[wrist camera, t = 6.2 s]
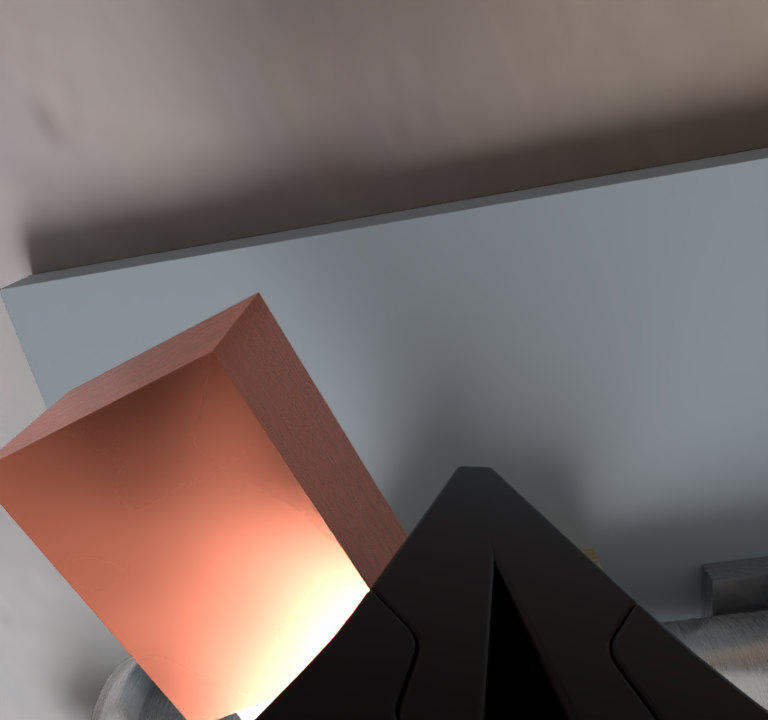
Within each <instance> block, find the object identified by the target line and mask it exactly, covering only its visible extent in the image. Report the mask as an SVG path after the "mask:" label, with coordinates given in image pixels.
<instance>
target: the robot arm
mask: <svg viewBox="0 0 768 720" xmlns="http://www.w3.org/2000/svg"><path fill="white" fill-rule="evenodd" d="M255 720H768V711H767V710H766V709H765V708H764V707H762V706H761V705H760V704H758V703H757V702H756V701H754V700H753V699H752V698H751V697H749V696H748V695H747V694H745V693H744V692H743V691H742V690H740V689H739V688H738V687H737V686H735V685H734V684H733V683H732V682H730V681H729V680H728V679H727V678H725V677H724V676H723V675H722V674H720V673H719V672H718V671H717V670H715V669H714V668H713V667H712V666H710V665H709V664H708V663H707V662H705V661H704V660H703V659H702V658H700V657H699V656H698V655H697V654H696V653H694V652H693V651H692V650H691V649H690V648H689V647H688V646H686V645H685V644H684V643H683V642H682V641H681V640H680V639H678V638H677V637H676V636H675V635H674V634H673V633H672V632H670V631H669V630H668V629H667V628H666V627H665V626H664V625H662V624H661V623H660V622H659V621H658V620H657V619H656V618H655V617H654V616H653V615H652V614H650V613H649V612H648V611H647V610H646V609H645V608H644V607H643V606H642V605H640V604H637V602H636V600H635V599H634V598H633V597H632V596H631V595H629V594H628V593H627V592H626V591H625V590H624V589H623V588H622V587H621V586H620V585H619V584H618V583H616V582H615V581H614V580H613V579H612V578H611V577H610V576H609V575H608V574H607V573H606V572H605V571H603V570H602V569H601V568H600V567H599V566H598V565H597V564H596V563H595V562H594V561H593V560H592V559H590V558H589V557H588V556H587V555H586V554H585V553H584V552H583V551H582V550H581V549H580V548H579V547H577V546H576V545H575V544H574V543H573V542H572V541H571V540H570V539H569V538H568V537H567V536H565V535H564V534H563V533H562V532H561V531H560V530H559V529H558V528H557V527H556V526H555V525H554V524H552V523H551V522H550V521H549V520H548V519H547V518H546V517H545V516H544V515H543V514H542V513H541V512H539V511H538V510H537V509H536V508H535V507H534V506H533V505H532V504H531V503H530V502H529V501H528V500H526V499H525V498H524V497H523V496H522V495H521V494H520V493H519V492H518V491H517V490H516V489H515V488H513V487H512V486H511V485H510V484H509V483H508V482H507V481H506V480H505V479H504V478H503V477H502V476H500V475H499V474H498V473H497V472H496V471H495V470H494V469H492V468H491V467H478V466H459V467H457V469H456V470H455V471H454V473H453V474H452V475H451V477H450V478H449V480H448V481H447V482H446V484H445V485H444V487H443V488H442V489H441V491H440V492H439V493H438V495H437V496H436V498H435V499H434V500H433V502H432V503H431V505H430V506H429V507H428V509H427V510H426V512H425V513H424V514H423V516H422V517H421V519H420V520H419V521H418V523H417V524H416V525H415V527H414V528H413V530H412V531H411V532H410V534H409V535H408V537H407V538H406V539H405V541H404V542H403V544H402V545H401V546H400V548H399V549H398V550H397V552H396V553H395V555H394V556H393V557H392V559H391V560H390V562H389V563H388V564H387V566H386V567H385V569H384V570H383V571H382V573H381V574H380V576H379V577H378V578H377V580H376V581H375V582H374V584H373V585H372V587H371V588H370V591H369V592H367V593H366V594H365V596H364V597H363V599H362V600H361V601H360V603H359V604H358V606H357V607H356V608H355V610H354V611H353V613H352V614H351V615H350V616H349V618H348V619H347V620H346V621H345V623H344V624H343V625H342V627H341V628H340V629H339V630H338V632H337V633H336V634H335V635H334V637H333V638H332V639H331V640H330V641H329V642H328V643H327V644H326V646H325V647H324V648H323V649H322V650H321V651H320V652H319V653H318V654H317V655H316V656H315V658H314V659H313V660H312V661H311V662H310V663H309V664H308V665H307V666H306V667H305V668H304V669H303V670H302V671H301V672H300V674H299V675H298V676H297V677H296V678H295V679H294V680H293V681H292V682H291V683H290V684H289V685H288V686H287V687H286V688H285V689H284V690H283V691H282V692H281V693H280V694H279V695H278V696H277V697H276V698H275V699H274V700H273V701H272V702H271V703H270V704H269V705H268V706H267V707H266V708H265V709H264V710H263V711H262V712H261V713H260V715H259V716H258V717H257V718H256V719H255Z"/></svg>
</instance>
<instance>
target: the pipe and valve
mask: <svg viewBox="0 0 768 720" xmlns="http://www.w3.org/2000/svg"><path fill="white" fill-rule="evenodd" d="M581 550H582V551H583V552H584V553H585V554H586V555H587V556H588V557H589V558H590V559H592V560H593V561H594V562H595V563H596V564H597V565H598V566H599V567H600V568H601V565H600V563H599V561H598V558H597V556H596V554H595V551H594V549H593V548H590V549H581ZM601 569H602V568H601ZM660 623H661V624H662V625H664V626H665V627H666V628H667V629H668V630H669V631H670V632H672V633H673V634H674V635H675V636H676V637H677V638H678V639H680V640H681V641H682V642H683V643H684V644H685V645H686V646H688V647H689V648H690V649H691V650H692V651H693V652H694V653H696V654H697V655H698V656H699V657H700V658H702V659H703V660H704V661H705V662H707V663H708V664H709V665H710V666H712V667H713V668H714V669H715V670H717V671H718V672H719V673H720V674H722V675H723V676H724V677H725V678H727V679H728V680H729V681H730V682H732V683H733V684H734V685H735V686H737V687H738V688H739V689H740V690H742V691H743V692H744V693H745V694H747V695H748V696H749V697H751V698H752V699H753V700H754V701H756V702H757V703H758V704H760V705H761V706H762V707H764V708H765V709H766V710H767V711H768V556H766V557H757V558H748V559H739V560H731V561H722V562H713V563H705V564H702V617H701V618H692V619H683V620H673V621H664V622H660ZM91 720H186V718H185V717H184V716H183V715H182V714H181V713H180V712H179V710H178V709H177V708H176V707H175V706H174V705H173V703H172V702H171V701H170V700H169V699H168V698H167V696H166V695H165V694H164V693H163V692H162V691H161V690H160V688H159V687H158V686H157V685H156V684H155V683H154V681H153V680H152V679H151V678H150V677H149V676H148V674H147V673H146V672H145V671H144V670H143V669H142V668H141V666H140V665H139V664H138V663H137V662H136V661H135V659H134V658H133V657H130V658H128V659H126V660H124V661H123V662H122V663H121V664H119V665H118V666H117V668H116V669H115V670H114V671H113V672H112V674H111V675H110V676H109V678H108V680H107V681H106V683H105V685H104V687H103V689H102V691H101V693H100V695H99V697H98V700H97V703H96V705H95V708H94V711H93V714H92V717H91ZM217 720H241V718H240V717H239V716H238V715H237V713H233V714H231V715H228V716H225V717H223V718H220V719H217Z"/></svg>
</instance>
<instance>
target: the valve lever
mask: <svg viewBox="0 0 768 720" xmlns="http://www.w3.org/2000/svg"><path fill="white" fill-rule="evenodd" d="M0 504H1V505H2V506H3V508H4V509H5V510H6V511H7V512H8V513H9V515H10V516H11V517H12V518H13V519H14V520H15V521H16V523H17V524H18V525H19V526H20V527H21V528H22V530H23V531H24V532H25V533H26V534H27V535H28V537H29V538H30V539H31V540H32V541H33V542H34V543H35V545H36V546H37V547H38V548H39V549H40V550H41V552H42V553H43V554H44V555H45V556H46V557H47V559H48V560H49V561H50V562H51V563H52V564H53V566H54V567H55V568H56V569H57V570H58V571H59V572H60V574H61V575H62V576H63V577H64V578H65V579H66V581H67V582H68V583H69V584H70V585H71V586H72V588H73V589H74V590H75V591H76V592H77V593H78V594H79V596H80V597H81V598H82V599H83V600H84V601H85V603H86V604H87V605H88V606H89V607H90V608H91V610H92V611H93V612H94V613H95V614H96V615H97V617H98V618H99V619H100V620H101V621H102V622H103V623H104V625H105V626H106V627H107V628H108V629H109V630H110V632H111V633H112V634H113V635H114V636H115V637H116V639H117V640H118V641H119V642H120V643H121V644H122V645H123V647H124V648H125V649H126V650H127V651H128V652H129V654H130V655H131V656H132V657H133V658H134V659H135V661H136V662H137V663H138V664H139V665H140V666H141V668H142V669H143V670H144V671H145V672H146V673H147V674H148V676H149V677H150V678H151V679H152V680H153V681H154V683H155V684H156V685H157V686H158V687H159V688H160V690H161V691H162V692H163V693H164V694H165V695H166V696H167V698H168V699H169V700H170V701H171V702H172V703H173V705H174V706H175V707H176V708H177V709H178V710H179V712H180V713H181V714H182V715H183V716H184V717H185V718H186V720H217V719H220V718H223V717H225V716H228V715H231V714H233V713H237V715H238V716H239V717H240V718H241V720H255V719H256V718H257V717H258V716H259V715H260V713H261V712H262V711H263V710H264V709H265V708H266V707H267V706H268V705H269V704H270V703H271V702H272V701H273V700H274V699H275V698H276V697H277V696H278V695H279V694H280V693H281V692H282V691H283V690H284V689H285V688H286V687H287V686H288V685H289V684H290V683H291V682H292V681H293V680H294V679H295V678H296V677H297V676H298V675H299V674H300V672H301V671H302V670H303V669H304V668H305V667H306V666H307V665H308V664H309V663H310V662H311V661H312V660H313V659H314V658H315V656H316V655H317V654H318V653H319V652H320V651H321V650H322V649H323V648H324V647H325V646H326V644H327V643H328V642H329V641H330V640H331V639H332V638H333V637H334V635H335V634H336V633H337V632H338V630H339V629H340V628H341V627H342V625H343V624H344V623H345V621H346V620H347V619H348V618H349V616H350V615H351V614H352V613H353V611H354V610H355V608H356V607H357V606H358V604H359V603H360V601H361V600H362V599H363V597H364V596H365V594H366V593H367V592H369V591H370V588H371V587H372V585H373V584H374V582H375V581H376V580H377V578H378V577H379V576H380V574H381V573H382V571H383V570H384V569H385V567H386V566H387V564H388V563H389V562H390V560H391V559H392V557H393V556H394V555H395V553H396V552H397V550H398V549H399V548H400V546H401V545H402V544H403V542H404V541H405V539H406V538H407V537H408V536H407V534H406V532H405V531H404V529H403V527H402V526H401V524H400V522H399V521H398V519H397V518H396V516H395V514H394V513H393V511H392V509H391V508H390V506H389V504H388V503H387V501H386V500H385V498H384V496H383V495H382V493H381V491H380V490H379V488H378V486H377V485H376V483H375V482H374V480H373V478H372V477H371V475H370V473H369V472H368V470H367V468H366V467H365V465H364V464H363V462H362V460H361V459H360V457H359V455H358V454H357V452H356V450H355V449H354V447H353V446H352V444H351V442H350V441H349V439H348V437H347V436H346V434H345V432H344V431H343V429H342V427H341V426H340V424H339V423H338V421H337V419H336V418H335V416H334V414H333V413H332V411H331V409H330V408H329V406H328V405H327V403H326V401H325V400H324V398H323V396H322V395H321V393H320V391H319V390H318V388H317V387H316V385H315V383H314V382H313V380H312V378H311V377H310V375H309V373H308V372H307V370H306V369H305V367H304V365H303V364H302V362H301V360H300V359H299V357H298V355H297V354H296V352H295V351H294V349H293V347H292V346H291V344H290V342H289V341H288V339H287V337H286V336H285V334H284V333H283V331H282V329H281V328H280V326H279V324H278V323H277V321H276V319H275V318H274V316H273V315H272V313H271V311H270V310H269V308H268V306H267V305H266V303H265V301H264V300H263V298H262V297H261V295H260V293H259V292H258V293H256V294H254V295H252V296H250V297H248V298H246V299H244V300H242V301H241V302H239V303H237V304H235V305H233V306H231V307H229V308H227V309H225V310H223V311H221V312H219V313H218V314H216V315H214V316H212V317H210V318H208V319H206V320H204V321H202V322H200V323H198V324H196V325H195V326H193V327H191V328H189V329H187V330H185V331H183V332H181V333H179V334H177V335H175V336H173V337H172V338H170V339H168V340H166V341H164V342H162V343H160V344H158V345H156V346H154V347H152V348H151V349H149V350H147V351H145V352H143V353H141V354H139V355H137V356H135V357H133V358H131V359H129V360H128V361H126V362H124V363H122V364H120V365H118V366H116V367H114V368H112V369H110V370H108V371H106V372H105V373H103V374H101V375H99V376H97V377H95V378H93V379H91V380H89V381H87V382H85V383H83V384H82V385H80V386H78V387H76V388H74V389H72V390H70V391H69V392H68V393H66V394H65V395H64V396H63V397H62V398H61V399H59V400H58V401H57V402H56V403H55V404H54V405H52V406H51V407H50V408H49V409H48V410H47V411H45V412H44V413H43V414H42V415H41V416H40V417H38V418H37V419H36V420H35V421H34V422H32V423H31V424H30V425H29V426H28V427H27V428H25V429H24V430H23V431H22V432H21V433H20V434H18V435H17V436H16V437H15V438H14V439H13V440H11V441H10V442H9V443H8V444H7V445H6V446H4V447H3V448H2V449H1V450H0Z"/></svg>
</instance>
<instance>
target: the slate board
mask: <svg viewBox="0 0 768 720" xmlns="http://www.w3.org/2000/svg"><path fill="white" fill-rule="evenodd" d="M258 292H259V293H260V295H261V297H262V298H263V300H264V301H265V303H266V305H267V306H268V308H269V310H270V311H271V313H272V315H273V316H274V318H275V319H276V321H277V323H278V324H279V326H280V328H281V329H282V331H283V333H284V334H285V336H286V337H287V339H288V341H289V342H290V344H291V346H292V347H293V349H294V351H295V352H296V354H297V355H298V357H299V359H300V360H301V362H302V364H303V365H304V367H305V369H306V370H307V372H308V373H309V375H310V377H311V378H312V380H313V382H314V383H315V385H316V387H317V388H318V390H319V391H320V393H321V395H322V396H323V398H324V400H325V401H326V403H327V405H328V406H329V408H330V409H331V411H332V413H333V414H334V416H335V418H336V419H337V421H338V423H339V424H340V426H341V427H342V429H343V431H344V432H345V434H346V436H347V437H348V439H349V441H350V442H351V444H352V446H353V447H354V449H355V450H356V452H357V454H358V455H359V457H360V459H361V460H362V462H363V464H364V465H365V467H366V468H367V470H368V472H369V473H370V475H371V477H372V478H373V480H374V482H375V483H376V485H377V486H378V488H379V490H380V491H381V493H382V495H383V496H384V498H385V500H386V501H387V503H388V504H389V506H390V508H391V509H392V511H393V513H394V514H395V516H396V518H397V519H398V521H399V522H400V524H401V526H402V527H403V529H404V531H405V532H406V534H407V536H408V535H409V534H410V532H411V531H412V530H413V528H414V527H415V525H416V524H417V523H418V521H419V520H420V519H421V517H422V516H423V514H424V513H425V512H426V510H427V509H428V507H429V506H430V505H431V503H432V502H433V500H434V499H435V498H436V496H437V495H438V493H439V492H440V491H441V489H442V488H443V487H444V485H445V484H446V482H447V481H448V480H449V478H450V477H451V475H452V474H453V473H454V471H455V470H456V469H457V467H459V466H478V467H491V468H492V469H494V470H495V471H496V472H497V473H498V474H499V475H500V476H502V477H503V478H504V479H505V480H506V481H507V482H508V483H509V484H510V485H511V486H512V487H513V488H515V489H516V490H517V491H518V492H519V493H520V494H521V495H522V496H523V497H524V498H525V499H526V500H528V501H529V502H530V503H531V504H532V505H533V506H534V507H535V508H536V509H537V510H538V511H539V512H541V513H542V514H543V515H544V516H545V517H546V518H547V519H548V520H549V521H550V522H551V523H552V524H554V525H555V526H556V527H557V528H558V529H559V530H560V531H561V532H562V533H563V534H564V535H565V536H567V537H568V538H569V539H570V540H571V541H572V542H573V543H574V544H575V545H576V546H577V547H579V548H580V549H590V548H593V549H594V551H595V554H596V556H597V558H598V561H599V563H600V565H601V568H602V570H603V571H605V572H606V573H607V574H608V575H609V576H610V577H611V578H612V579H613V580H614V581H615V582H616V583H618V584H619V585H620V586H621V587H622V588H623V589H624V590H625V591H626V592H627V593H628V594H629V595H631V596H632V597H633V598H634V599H635V600H636V602H637V604H640V605H642V606H643V607H644V608H645V609H646V610H647V611H648V612H649V613H650V614H652V615H653V616H654V617H655V618H656V619H657V620H658V621H659V622H664V621H673V620H683V619H692V618H701V617H702V564H705V563H713V562H722V561H731V560H739V559H748V558H757V557H766V556H768V148H762V149H756V150H751V151H745V152H739V153H733V154H728V155H722V156H716V157H710V158H704V159H699V160H693V161H687V162H681V163H676V164H670V165H664V166H658V167H652V168H647V169H641V170H635V171H629V172H623V173H618V174H612V175H606V176H600V177H595V178H589V179H583V180H577V181H571V182H566V183H560V184H554V185H548V186H543V187H537V188H531V189H525V190H519V191H514V192H508V193H502V194H496V195H491V196H485V197H479V198H473V199H467V200H462V201H456V202H450V203H444V204H439V205H433V206H427V207H421V208H415V209H410V210H404V211H398V212H392V213H386V214H381V215H375V216H369V217H363V218H358V219H352V220H346V221H340V222H334V223H329V224H323V225H317V226H311V227H306V228H300V229H294V230H288V231H282V232H277V233H271V234H265V235H259V236H254V237H248V238H242V239H236V240H230V241H225V242H219V243H213V244H207V245H202V246H196V247H190V248H184V249H178V250H173V251H167V252H161V253H155V254H149V255H144V256H138V257H132V258H126V259H121V260H115V261H109V262H103V263H97V264H92V265H86V266H80V267H74V268H69V269H63V270H57V271H51V272H45V273H40V274H34V275H30V276H28V277H26V278H24V279H21V280H19V281H17V282H15V283H13V284H11V285H8V286H6V287H4V288H2V289H0V294H1V297H2V299H3V302H4V304H5V307H6V309H7V312H8V314H9V316H10V319H11V321H12V324H13V326H14V329H15V331H16V334H17V336H18V339H19V341H20V343H21V346H22V348H23V351H24V353H25V356H26V358H27V361H28V363H29V365H30V368H31V370H32V373H33V375H34V378H35V380H36V383H37V385H38V388H39V390H40V392H41V395H42V397H43V400H44V402H45V405H46V407H47V410H48V409H49V408H50V407H51V406H52V405H54V404H55V403H56V402H57V401H58V400H59V399H61V398H62V397H63V396H64V395H65V394H66V393H68V392H69V391H70V390H72V389H74V388H76V387H78V386H80V385H82V384H83V383H85V382H87V381H89V380H91V379H93V378H95V377H97V376H99V375H101V374H103V373H105V372H106V371H108V370H110V369H112V368H114V367H116V366H118V365H120V364H122V363H124V362H126V361H128V360H129V359H131V358H133V357H135V356H137V355H139V354H141V353H143V352H145V351H147V350H149V349H151V348H152V347H154V346H156V345H158V344H160V343H162V342H164V341H166V340H168V339H170V338H172V337H173V336H175V335H177V334H179V333H181V332H183V331H185V330H187V329H189V328H191V327H193V326H195V325H196V324H198V323H200V322H202V321H204V320H206V319H208V318H210V317H212V316H214V315H216V314H218V313H219V312H221V311H223V310H225V309H227V308H229V307H231V306H233V305H235V304H237V303H239V302H241V301H242V300H244V299H246V298H248V297H250V296H252V295H254V294H256V293H258Z"/></svg>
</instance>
